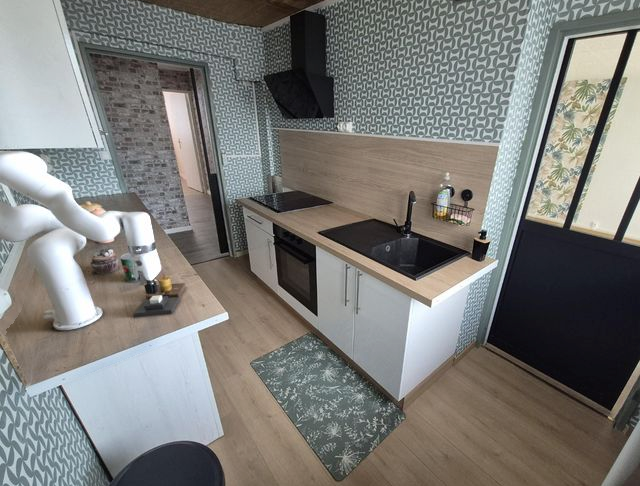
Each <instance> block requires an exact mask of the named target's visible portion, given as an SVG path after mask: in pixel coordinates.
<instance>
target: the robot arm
mask: <svg viewBox="0 0 640 486" xmlns="http://www.w3.org/2000/svg"><path fill="white" fill-rule="evenodd" d="M47 171H48V166H47V164H46V161H44V159H42V158H41V157H40V156H38V155H37V154H34V153H32V152H28V151H23V150H0V183H1V184H2V185H4V186H6V187H8V188H10V189H12V190H13V191H15V192H18V193H19V194H21V195H23V196H25V197H27V198H29V199H31V200H33V201H35V202H37V203H39V204H40V205H37V204H34V203H33V204H32V203H25V204H24V203H23V204H19V205H16V206H12V205H10V204H8V203H6V202H4V201H3V200H1V199H0V239H1V240H3V241H6V242H8V243H20V242H23V241H26V240H28V239H30V238H33V237H34V236H35V237H38V238H36V239H35V240H34V241H32V242H31V244H30V245H29V246H28V248H27V251H26V255H27V258H28V260H29V262H30V263H31V265H32V266H33V268H34V269H35V270H36V271H37V274H39V277H40V279H41V281H42V284H43V287H44V288H45V291H46V293H47V296H48V298H49V300H50V303H51V306H52V308H53V309H48V310H45V311H44V314H43V315H44V316H43V318H44V320H52V319H53V322H52V326H53V328H54V329H55V330H56V331H57V330H58V331H71V330H76V329H80V328H84V327H86V326H88V325H91V324H93V323H94V322H96V321H97V320H99V319H100V318H101V317H102V315H103V309H102V308H101V307H99V306H95V304H94V301H93V298H92V296H91V292H90V289H89V286H88V284H87V281H86V278H85V275H84V272H83V270H82V267H81V266H80V265H79V264H78V262H77V261H76V260H75V259H74V256H76V255H77V254H78V253H79V252H80V251H82V250H83V249H84V248H85V246H86V244H87V239H89V240H92V241H94V242H98V241H99V242H104V241H109V240H111V239H113V238H114V239H115V238H116V236H117V235H119V234H121V233H124V236H125V239H126V244H127V247H128V253H130V254H131V255H132V264H133V270H134V275H135V278H136V280H137V281H136V282H139V284H140V286H144V291H145V294H146V295H148V294H156V293H157V291H158V290H157V285H158V284H157V278H156V277H157V276H158V274H160V272H161V271H162V264H161V260H160V257H159V253H158V250H157V247H156V241H155V236H154V231H153V227H152V220H151V217H150V215H149V214H148V213H147V212H145V211H130V212H128V211H119V210H105V211H106V212H104V213H102V214H100V215H98V216H95V215H93V214H91V213H89V212H88V211H86V210H84V209H83V208H82V207H80V205H79V204H78V203H77V201H76V200H75V198H74V195H73V189H72V187H71V186H70V185H69V184H68V183H66V182H64V181H62V180H61V179H59V178H57V177H55V176H54V175H52V174H50V173H48V172H47ZM41 205H42V206H41Z"/></svg>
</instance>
